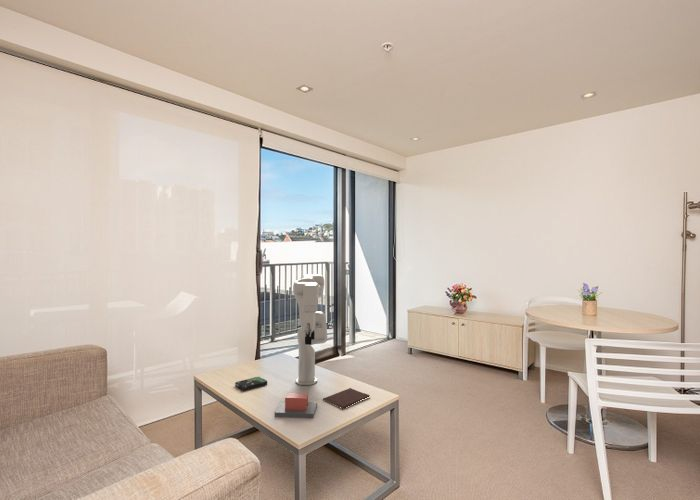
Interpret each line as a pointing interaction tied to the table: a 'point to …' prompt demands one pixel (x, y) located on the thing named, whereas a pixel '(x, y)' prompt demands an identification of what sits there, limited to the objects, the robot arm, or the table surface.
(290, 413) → the board
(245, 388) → the disk drive
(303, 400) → the block
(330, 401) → the notebook
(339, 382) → the table surface
